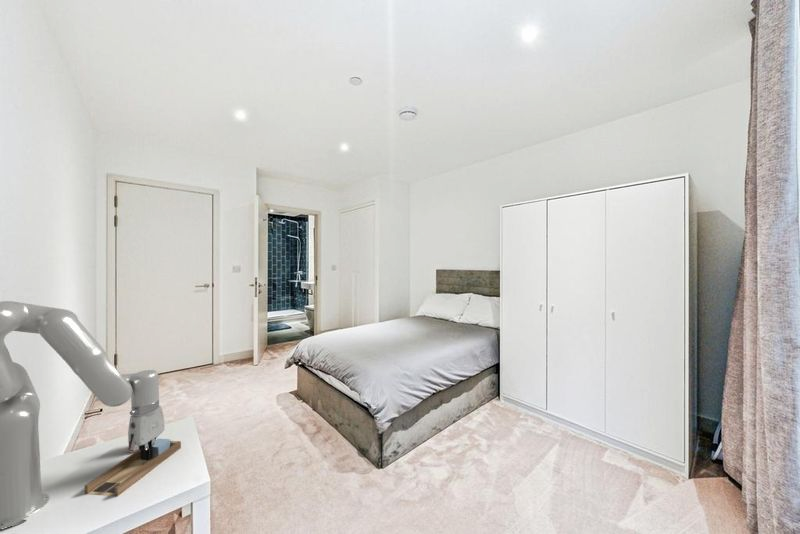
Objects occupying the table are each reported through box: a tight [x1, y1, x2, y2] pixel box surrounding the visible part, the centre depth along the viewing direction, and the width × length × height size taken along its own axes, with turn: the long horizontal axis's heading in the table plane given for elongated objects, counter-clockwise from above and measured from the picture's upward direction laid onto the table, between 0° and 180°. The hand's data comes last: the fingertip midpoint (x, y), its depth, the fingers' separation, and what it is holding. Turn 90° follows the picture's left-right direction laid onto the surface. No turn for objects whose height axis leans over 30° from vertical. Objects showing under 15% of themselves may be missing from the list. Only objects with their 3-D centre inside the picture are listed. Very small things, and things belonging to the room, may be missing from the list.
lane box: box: [84, 440, 182, 497], centre depth 107 cm, size 11×24×4 cm, turn 174°
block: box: [153, 438, 171, 458], centre depth 115 cm, size 5×5×4 cm
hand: (146, 458), depth 110 cm, fingers closed
